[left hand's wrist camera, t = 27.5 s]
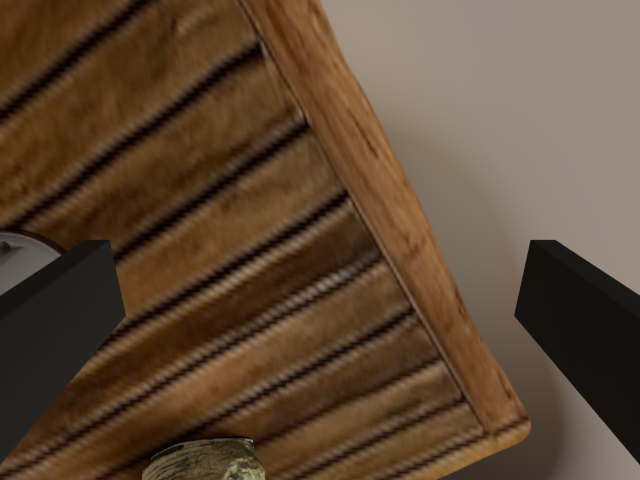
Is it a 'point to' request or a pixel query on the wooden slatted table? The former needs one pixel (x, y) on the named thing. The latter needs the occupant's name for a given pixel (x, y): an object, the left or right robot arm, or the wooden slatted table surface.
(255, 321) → the wooden slatted table surface
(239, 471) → the fossil
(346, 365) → the wooden slatted table surface
